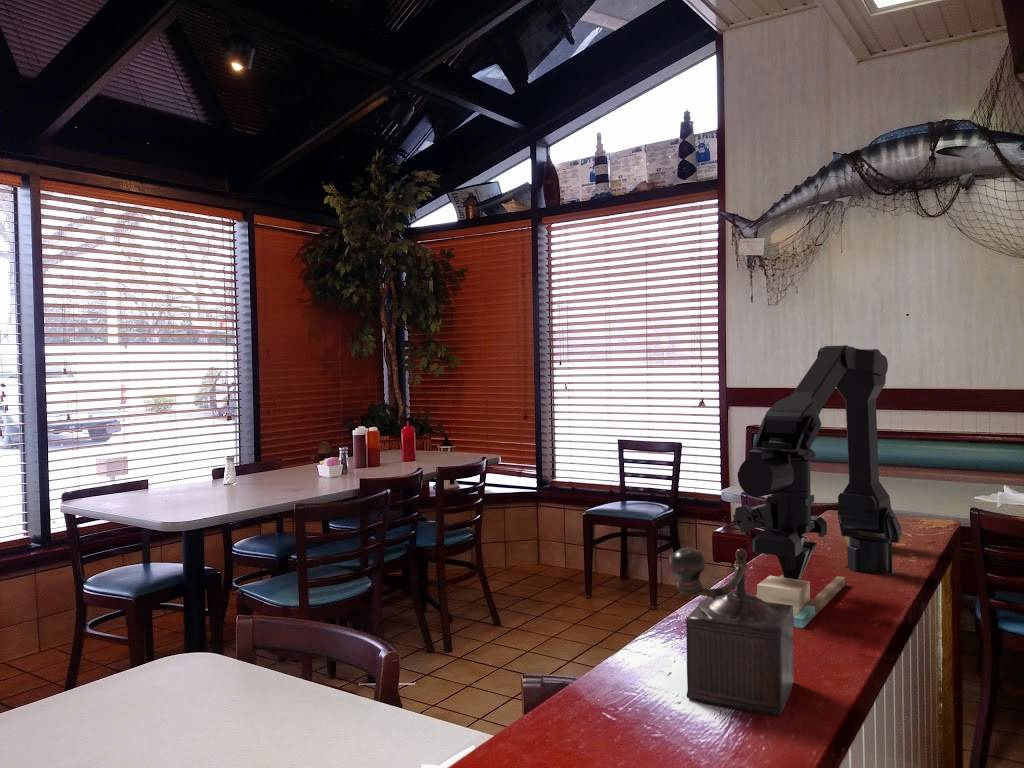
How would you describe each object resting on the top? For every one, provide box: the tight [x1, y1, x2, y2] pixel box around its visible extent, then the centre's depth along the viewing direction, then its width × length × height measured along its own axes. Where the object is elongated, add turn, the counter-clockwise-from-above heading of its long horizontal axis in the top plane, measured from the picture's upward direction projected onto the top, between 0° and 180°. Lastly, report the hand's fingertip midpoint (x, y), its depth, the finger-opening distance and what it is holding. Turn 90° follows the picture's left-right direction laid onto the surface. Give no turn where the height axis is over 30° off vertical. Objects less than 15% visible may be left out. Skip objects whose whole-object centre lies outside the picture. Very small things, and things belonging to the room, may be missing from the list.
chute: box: [753, 573, 846, 629], centre depth 121 cm, size 25×10×2 cm, turn 144°
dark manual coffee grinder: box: [668, 547, 795, 717], centre depth 87 cm, size 16×11×18 cm
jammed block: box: [756, 575, 811, 619], centre depth 116 cm, size 6×6×4 cm
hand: (791, 589), depth 119 cm, fingers closed
